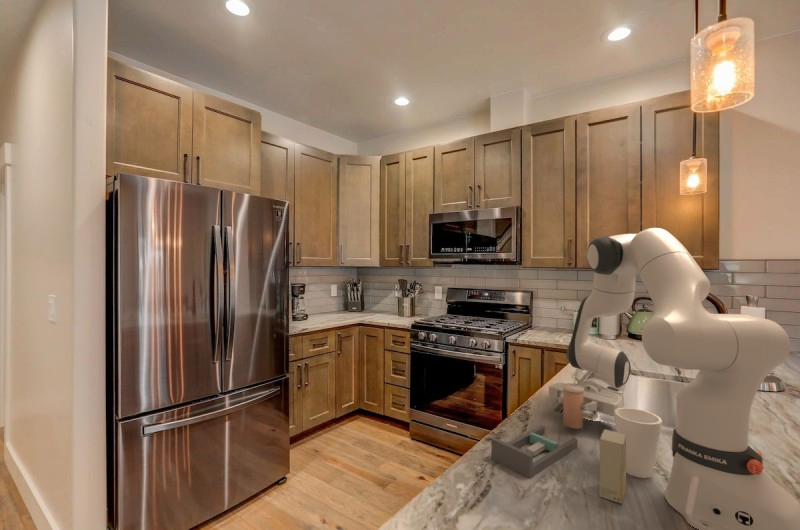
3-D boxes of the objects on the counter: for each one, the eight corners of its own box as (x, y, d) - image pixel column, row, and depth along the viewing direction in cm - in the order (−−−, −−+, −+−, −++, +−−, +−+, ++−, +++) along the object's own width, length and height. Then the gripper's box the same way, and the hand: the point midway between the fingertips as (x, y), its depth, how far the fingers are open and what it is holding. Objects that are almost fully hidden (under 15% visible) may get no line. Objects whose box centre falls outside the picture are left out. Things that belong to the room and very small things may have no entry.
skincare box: (622, 505, 74) (623, 445, 74) (597, 496, 77) (599, 438, 77) (626, 490, 80) (627, 434, 79) (602, 482, 82) (604, 428, 82)
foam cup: (637, 484, 82) (639, 426, 81) (604, 462, 90) (605, 409, 90) (670, 478, 84) (672, 421, 84) (634, 457, 93) (636, 406, 93)
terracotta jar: (586, 425, 106) (587, 387, 106) (577, 430, 103) (578, 391, 103) (568, 418, 110) (568, 382, 110) (559, 423, 107) (559, 385, 107)
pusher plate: (532, 441, 100) (532, 432, 100) (557, 452, 94) (557, 442, 94) (517, 449, 96) (517, 440, 95) (543, 461, 90) (543, 451, 90)
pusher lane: (540, 432, 106) (541, 414, 106) (577, 446, 98) (577, 428, 98) (491, 459, 91) (491, 438, 91) (529, 478, 83) (529, 456, 83)
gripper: (560, 375, 123) (538, 383, 114) (629, 392, 107) (609, 403, 98) (560, 394, 123) (538, 404, 114) (628, 414, 107) (609, 427, 98)
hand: (571, 404), depth 106 cm, fingers closed on terracotta jar, 5 cm apart
